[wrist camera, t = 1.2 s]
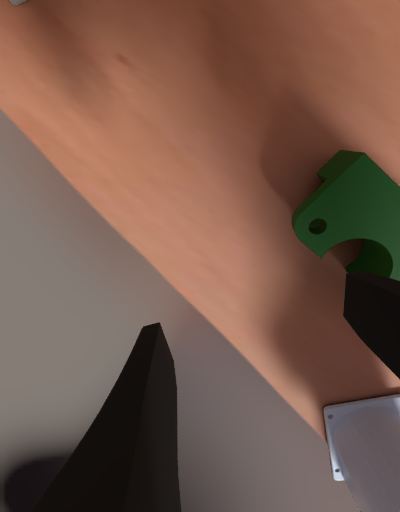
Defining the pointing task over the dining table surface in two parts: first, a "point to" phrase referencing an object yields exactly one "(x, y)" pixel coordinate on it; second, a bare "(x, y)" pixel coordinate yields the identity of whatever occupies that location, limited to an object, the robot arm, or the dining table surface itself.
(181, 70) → the dining table surface
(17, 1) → the coffee box
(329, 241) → the clamp
